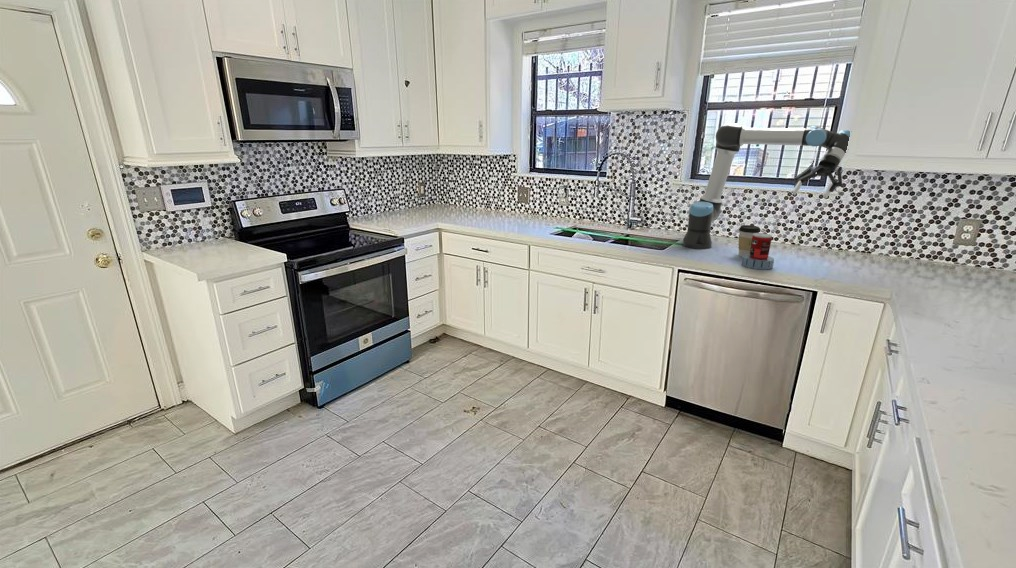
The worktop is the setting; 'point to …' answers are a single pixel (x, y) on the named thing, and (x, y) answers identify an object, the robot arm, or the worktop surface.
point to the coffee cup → (746, 238)
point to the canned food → (760, 246)
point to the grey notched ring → (757, 262)
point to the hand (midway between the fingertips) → (809, 194)
